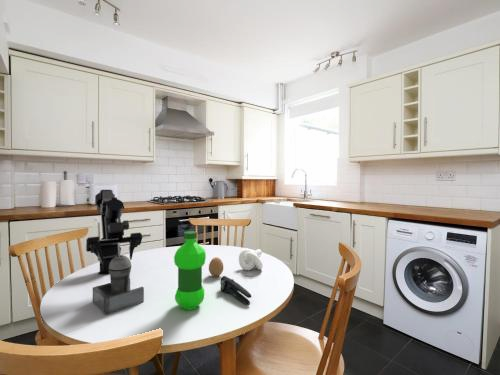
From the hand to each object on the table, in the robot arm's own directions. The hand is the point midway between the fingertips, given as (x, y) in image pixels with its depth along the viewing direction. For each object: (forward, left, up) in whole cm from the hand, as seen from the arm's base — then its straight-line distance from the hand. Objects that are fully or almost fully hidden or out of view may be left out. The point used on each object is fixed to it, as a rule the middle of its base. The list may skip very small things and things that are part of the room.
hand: (117, 261), depth 95 cm
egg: (+37, +13, -13) cm, 41 cm away
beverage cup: (+3, -5, -12) cm, 14 cm away
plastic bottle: (+27, -13, -13) cm, 32 cm away
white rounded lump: (+55, +21, -13) cm, 60 cm away
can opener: (+43, -7, -13) cm, 45 cm away
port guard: (+3, -6, -12) cm, 14 cm away
